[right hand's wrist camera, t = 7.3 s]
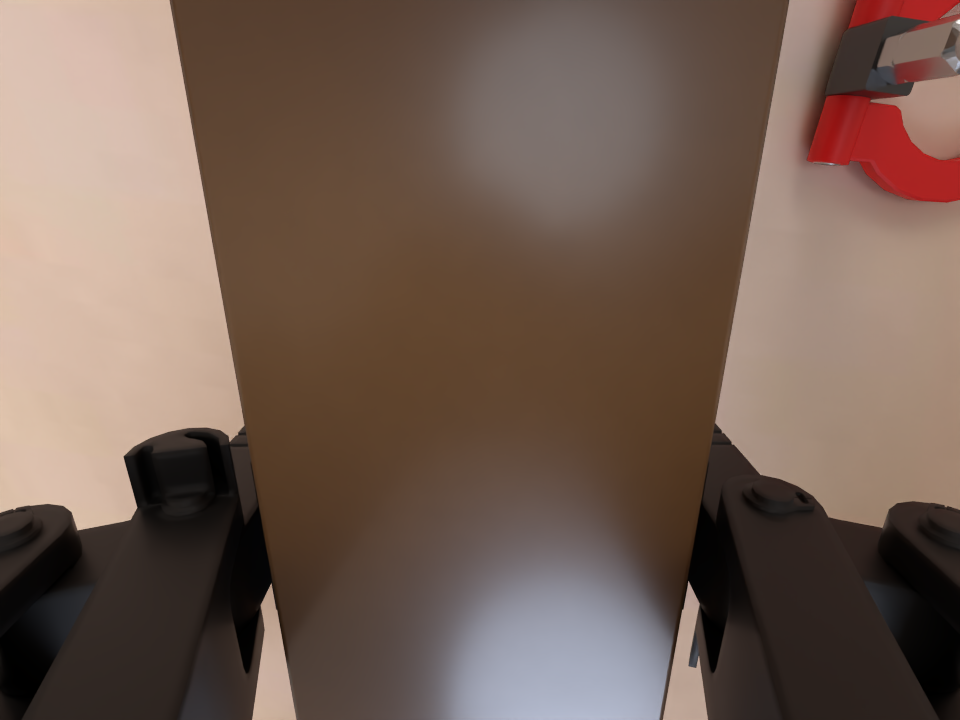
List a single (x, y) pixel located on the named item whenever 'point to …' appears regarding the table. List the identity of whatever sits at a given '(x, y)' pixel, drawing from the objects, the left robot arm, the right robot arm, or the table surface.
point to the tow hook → (889, 95)
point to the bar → (479, 329)
